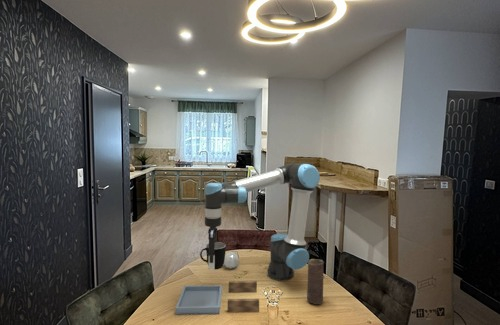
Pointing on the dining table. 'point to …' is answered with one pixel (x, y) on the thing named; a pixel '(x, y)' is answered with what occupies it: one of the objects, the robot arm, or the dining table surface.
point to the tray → (199, 300)
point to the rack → (243, 304)
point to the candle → (315, 281)
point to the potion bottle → (231, 259)
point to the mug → (216, 254)
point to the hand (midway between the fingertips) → (212, 264)
